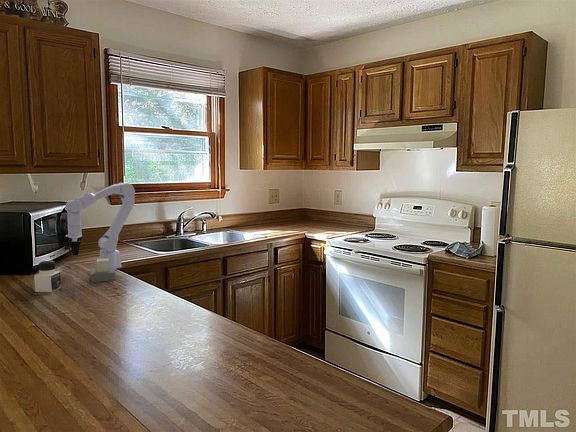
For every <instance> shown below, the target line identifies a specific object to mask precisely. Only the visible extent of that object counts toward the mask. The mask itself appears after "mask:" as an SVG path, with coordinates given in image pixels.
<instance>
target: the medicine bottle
mask: <svg viewBox="0 0 576 432" xmlns="http://www.w3.org/2000/svg"><path fill="white" fill-rule="evenodd" d="M33 278H34V279H33V280H34V292H36V293H53V292H55V291H57V290H59V289H61V287H62V282H61V281H62V280H61V278H62V277H61V271H59V270H56V262H55V261H53V260H43V261H40V262H39V263H38V273H36V274H34V277H33Z"/></svg>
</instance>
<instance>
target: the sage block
mask: <svg viewBox="0 0 576 432" xmlns="http://www.w3.org/2000/svg"><path fill="white" fill-rule="evenodd" d="M96 269H97V272H108V271H109V258H107V259H100V258H96Z"/></svg>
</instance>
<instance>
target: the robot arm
mask: <svg viewBox="0 0 576 432" xmlns="http://www.w3.org/2000/svg"><path fill="white" fill-rule="evenodd" d="M135 194H136V190H135V188H134V186H133V185H132V184H131V183H129V182H128V183H126V182H118V183H115V184H111V185H109V186H108V187H105V188H103V189H102V190H101V189H100V190H99V191H97V192H95V193H92V192H85V193H84V195H81V196H79V197H75V198H74V199H70V200H67V202H66V203H65V206H64V208H65V210H66V211H67V214H66V215H67V234H66V235H65V238H68V241H67V242H68V245H69V247H70V248H71V253H72V256H73V257H74V256H79V252H80V246H81V243H82V239H83V234H82V233H83V232H82V214H81V211H82V210H84V209H86V208H90V207H92V206H93V205H95V204H97V201H98V200H101V199H103V198H106V197H108V196H111V195H118V196H119V198H120V199H121V202H122V204H121V205H120V208H119V209H118V212H117V213H116V215H115V217H114V219H113V221H112V222H111V224H110V226H109V229H107V231H106V232H105V233H104V234H103V236H102V237H100V238H99V239H98V241H97V244H98V245H97V246H98V247H99V248H100V250H99V259H107V258H109V268H113V267H115V270H116V269H120V268H122V267H123V265H122V262H121V261H122V260H121V259H122V257H121V252H120V251H119V250H118V249H117V247H118V241H119V234H120V233H121V231H122V228H123V227H124V225H125V223H126V221H127V219H128V218H129V215H130V213H131V212H132V209H133V207H134V206H135V203H136V201H135V200H136V199H135Z"/></svg>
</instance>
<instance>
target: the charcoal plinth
mask: <svg viewBox="0 0 576 432" xmlns="http://www.w3.org/2000/svg"><path fill="white" fill-rule="evenodd" d="M108 281H116V269H115V267H113V268H109V271H108V272H97V268H91V271H90V283H95V282H108Z"/></svg>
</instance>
